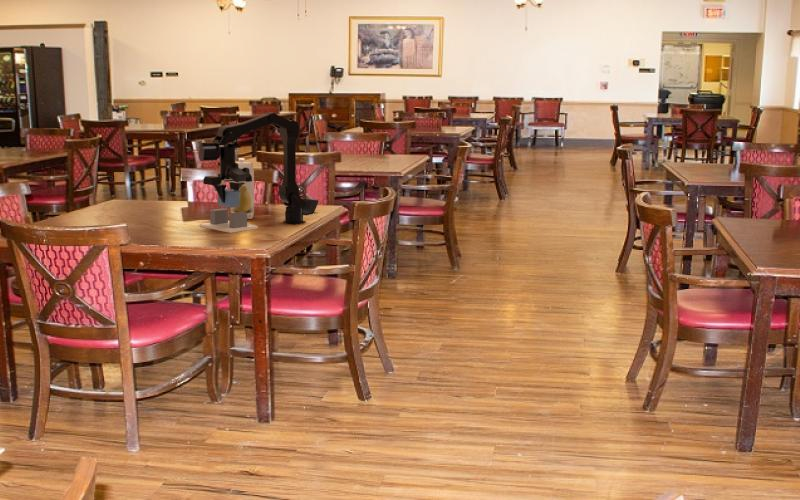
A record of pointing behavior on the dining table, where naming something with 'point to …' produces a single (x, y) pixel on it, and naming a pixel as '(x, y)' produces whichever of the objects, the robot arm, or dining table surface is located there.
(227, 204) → the block
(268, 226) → the dining table surface
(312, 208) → the black tapered bin
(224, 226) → the plate
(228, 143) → the robot arm
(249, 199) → the juice carton
